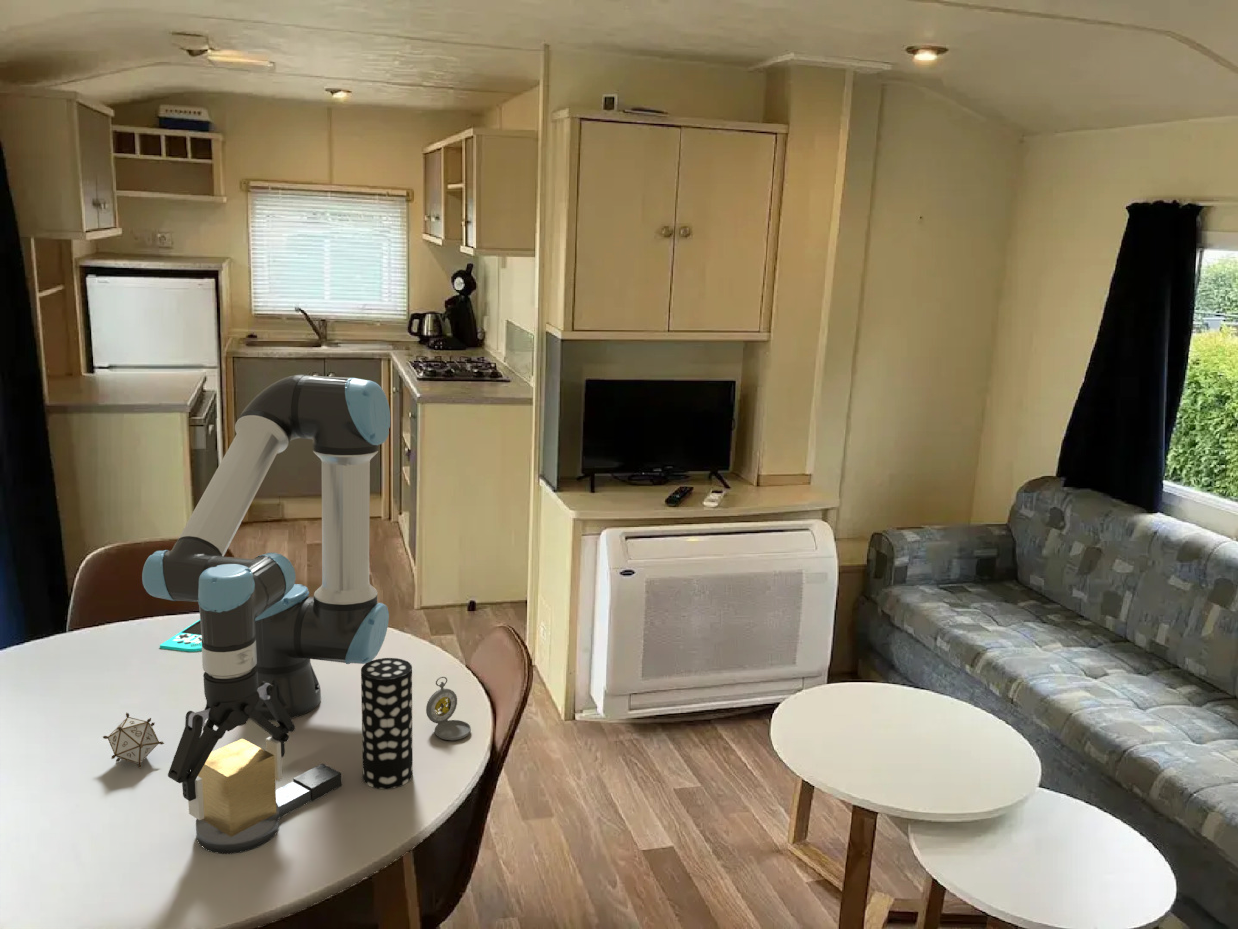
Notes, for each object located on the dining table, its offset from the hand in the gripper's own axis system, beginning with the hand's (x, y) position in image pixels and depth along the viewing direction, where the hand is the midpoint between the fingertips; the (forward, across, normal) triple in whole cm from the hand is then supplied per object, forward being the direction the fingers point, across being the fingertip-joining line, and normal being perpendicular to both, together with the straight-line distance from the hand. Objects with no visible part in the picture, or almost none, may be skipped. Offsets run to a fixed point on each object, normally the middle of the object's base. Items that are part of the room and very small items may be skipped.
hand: (237, 796), depth 153 cm
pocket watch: (+6, +43, -3) cm, 43 cm away
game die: (+6, +1, +31) cm, 32 cm away
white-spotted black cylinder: (+6, +25, -6) cm, 26 cm away
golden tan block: (+3, 0, 0) cm, 3 cm away
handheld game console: (+7, +38, +70) cm, 80 cm away
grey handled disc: (+6, +6, 0) cm, 8 cm away
